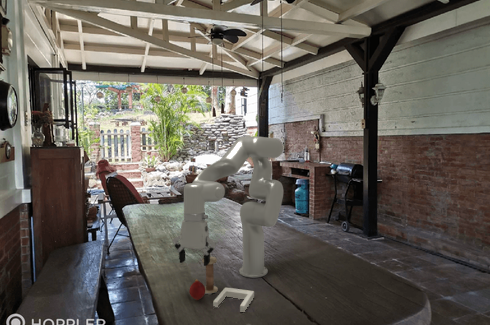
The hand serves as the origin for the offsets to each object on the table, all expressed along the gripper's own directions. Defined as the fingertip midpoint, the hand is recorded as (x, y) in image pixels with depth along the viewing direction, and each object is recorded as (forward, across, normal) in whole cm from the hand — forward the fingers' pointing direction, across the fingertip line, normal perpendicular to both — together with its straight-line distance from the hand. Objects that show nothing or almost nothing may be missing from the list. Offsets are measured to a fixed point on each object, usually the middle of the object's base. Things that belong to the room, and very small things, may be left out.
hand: (194, 263), depth 127 cm
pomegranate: (+14, -1, -1) cm, 14 cm away
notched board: (+14, -15, -3) cm, 20 cm away
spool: (+14, -2, -9) cm, 17 cm away
